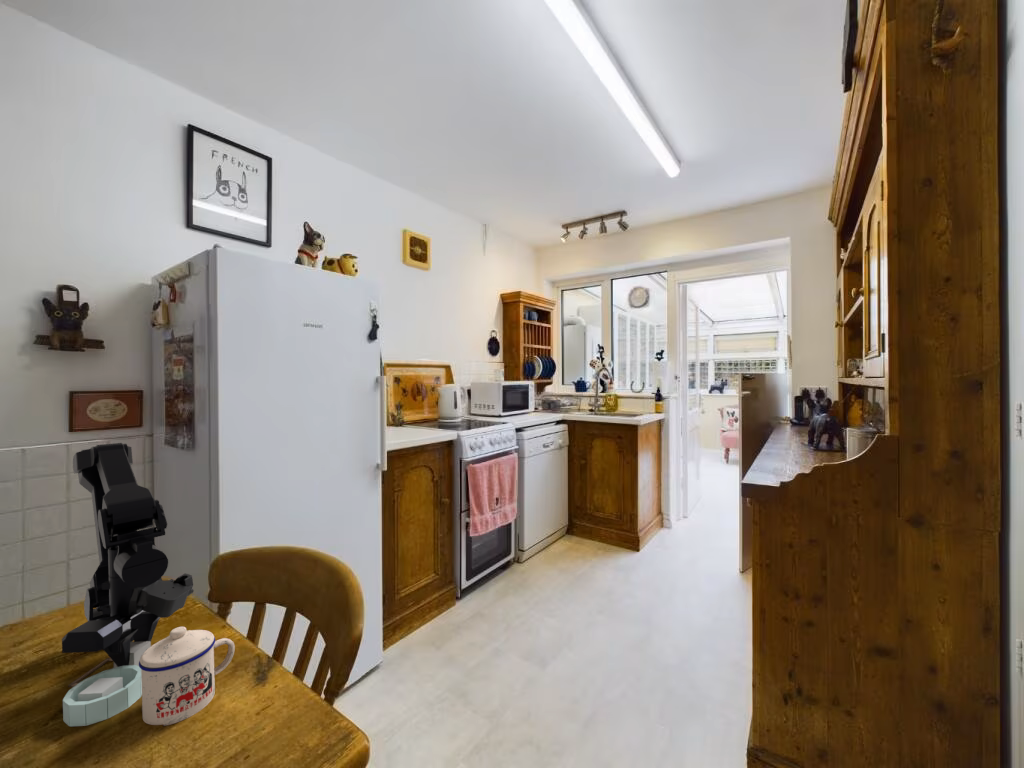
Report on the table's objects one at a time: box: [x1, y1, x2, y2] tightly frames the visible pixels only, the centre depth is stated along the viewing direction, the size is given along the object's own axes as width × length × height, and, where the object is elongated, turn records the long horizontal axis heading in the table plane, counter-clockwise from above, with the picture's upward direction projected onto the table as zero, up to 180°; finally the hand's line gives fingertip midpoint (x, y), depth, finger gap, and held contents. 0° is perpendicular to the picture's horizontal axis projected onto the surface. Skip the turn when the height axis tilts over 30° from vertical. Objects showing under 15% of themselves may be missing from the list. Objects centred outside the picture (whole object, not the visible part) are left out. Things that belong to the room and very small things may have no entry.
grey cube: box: [113, 640, 152, 668], centre depth 74 cm, size 3×3×3 cm
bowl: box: [62, 665, 142, 727], centre depth 65 cm, size 9×9×4 cm
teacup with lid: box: [139, 626, 236, 727], centre depth 66 cm, size 12×9×12 cm
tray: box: [67, 657, 114, 688], centre depth 73 cm, size 8×7×1 cm
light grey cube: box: [78, 677, 123, 702], centre depth 64 cm, size 3×3×3 cm
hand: (133, 661), depth 74 cm, fingers closed on grey cube, 3 cm apart
